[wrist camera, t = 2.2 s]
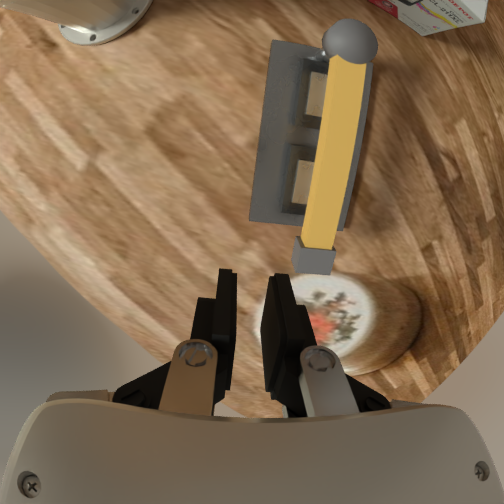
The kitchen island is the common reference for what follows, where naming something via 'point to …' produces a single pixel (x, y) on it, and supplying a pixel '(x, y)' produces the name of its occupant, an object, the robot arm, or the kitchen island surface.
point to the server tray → (295, 134)
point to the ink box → (435, 13)
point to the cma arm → (334, 143)
